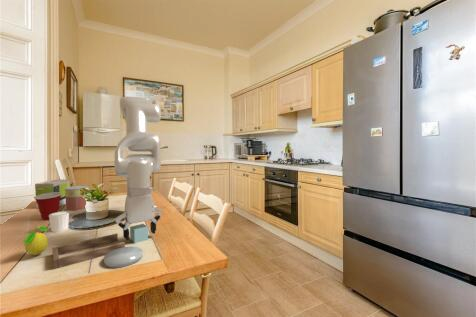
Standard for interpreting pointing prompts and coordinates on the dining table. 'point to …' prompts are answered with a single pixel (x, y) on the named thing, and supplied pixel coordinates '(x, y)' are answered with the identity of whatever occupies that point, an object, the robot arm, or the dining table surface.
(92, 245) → the frame
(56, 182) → the tea box
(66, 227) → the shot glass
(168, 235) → the dining table surface
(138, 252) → the grey round disc
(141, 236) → the teal cube
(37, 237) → the lemon
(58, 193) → the plastic cup
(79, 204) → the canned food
